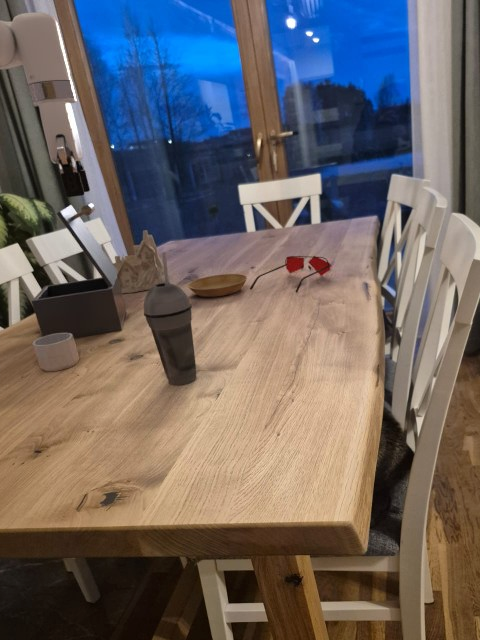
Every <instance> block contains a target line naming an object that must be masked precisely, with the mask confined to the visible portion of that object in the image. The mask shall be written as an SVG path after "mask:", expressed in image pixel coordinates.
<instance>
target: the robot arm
mask: <svg viewBox="0 0 480 640" xmlns="http://www.w3.org/2000/svg"><path fill="white" fill-rule="evenodd" d="M20 66H22V68H23V71H24V74H25V78H26V82H27V85H28V90H29V94H30V97H31V101H32V105H33V107H38V109H39V114H40V115H39V116H40V120H41V125H42V129H43V133H44V137H45V141H46V145H47V149H48V154H49V158H50V162H52V163H53V164H55V165H56V164H58V166H59V172H60V177H61V181H62V185H63V189H64V192H65V196H66V197H67V198H73V197H80V196H84V195H85V193H89V192H90V191H91V189H90V183H89V180H88V176H87V171H86V169H85V167H84V163H83V161H82V159H84V153H83V148H82V144H81V138H80V135H79V130H78V126H77V123H76V118H75V114H74V110H73V108H72V104H75V103H77V102H78V100H77V96H76V93H75V89H74V84H73V81H72V76H71V72H70V68H69V64H68V60H67V56H66V51H65V48H64V43H63V39H62V36H61V32H60V27H59V25H58V22H57V20H56V18H55V17H54V16H53V15H52V14H50V13H46V12H34V11H33V12H24V13H20V14H17V15H16V16H14V17H13V19H12V21H5V20H1V19H0V70H9V69H12V68H16V67H20Z"/></svg>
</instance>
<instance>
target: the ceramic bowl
mask: <svg viewBox="0 0 480 640" xmlns="http://www.w3.org/2000/svg"><path fill="white" fill-rule="evenodd" d="M31 344H32V347H33V350H34V353H35V356H36V359H37V362H38V365H39V367H40V369H41V370H43V371H44V372H57V371H63V370H66V369H69V368H72V367H73V366H75V365H77V364H78V363H79V360H80V355H79V352H78V348H77V344H76V341H75V338H73V335H72V334H71V333H56V334H51V335H47V336H44V337H43V336H42V337H41V336H40V337H38V338H36V339H35V340H33V342H32V343H31Z"/></svg>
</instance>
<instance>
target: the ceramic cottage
mask: <svg viewBox="0 0 480 640" xmlns="http://www.w3.org/2000/svg"><path fill="white" fill-rule="evenodd" d="M157 247H158V246H157V244H156V243H155V240H154V237H153V234H149V232H148V230H143V231H142V240H141V242H140V244H136V245H135V244H134V245H132V250H133V253H134V254H130V255H125V254H124V253H123V254H122V257H121V256H120V255H119V254H118V255H115V256H114V260H115V262H112V264H113V265H114V267H115V268H116V270H117V271H118V274H117V276H118V280H119V284H120V288H121V292H122V295H123V294H127V293H128V294H130V293H132V294H133V293H137V292H143V291H149V290H150V289H151V288H152V287H154V286H155V285H157V284H161V283H165V277H164V266H163V260H162V259H161V258H160V256H159V252H158V248H157ZM169 280H170V277H169V275H168V282H169V283H170V281H169Z"/></svg>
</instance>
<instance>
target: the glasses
mask: <svg viewBox="0 0 480 640" xmlns="http://www.w3.org/2000/svg"><path fill="white" fill-rule="evenodd" d="M305 258H310V256H309V255H308V256H305V255H303V256H302V255H289V256H286V258H285V261H284V264H282V265H281V266H278V267H276V268H274V269H270V270H269V271H265V272H264V273H262V274H260V275H258V276H257V277H256V278H255V279H254V281H253V283H252V284H251V286H250V287H249V290H253V289H254V287H255V285H256V283H257V281H258V280H259V279H260V278H261V277H263V276H265V275H267V274H270V273H272V272H275V271H278V270H280V269H283V268H284V267H285V269H286V270H287V272H288V273H289V274H292V273H295V272H297V271H299V270H303V269H304V268H305ZM307 263H308V264H309V265H308V266H307V268H308V269H309V270H310V271H311V270H313V269H314V272H312V273H310V274H308V275H306V276H303V277H302V278H301V279H300V281H299V283H298V285H297V287H296V289H295V290H294V291H295V293H296V294H297V293H299V290H300V288H301V286H302V283H303V281H304V280H305V279H307V278H310V277H311V276H314V275H316V274H318V275H319V276H320V277H322V276H324V275H325V274H326V273H329V272H330V271H331V268H332V264H331V262H329V261H328V259H327V258H326V257H324V256H317V255H313V256H312V257H311V258H310V259H309V260H308V262H307Z"/></svg>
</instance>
